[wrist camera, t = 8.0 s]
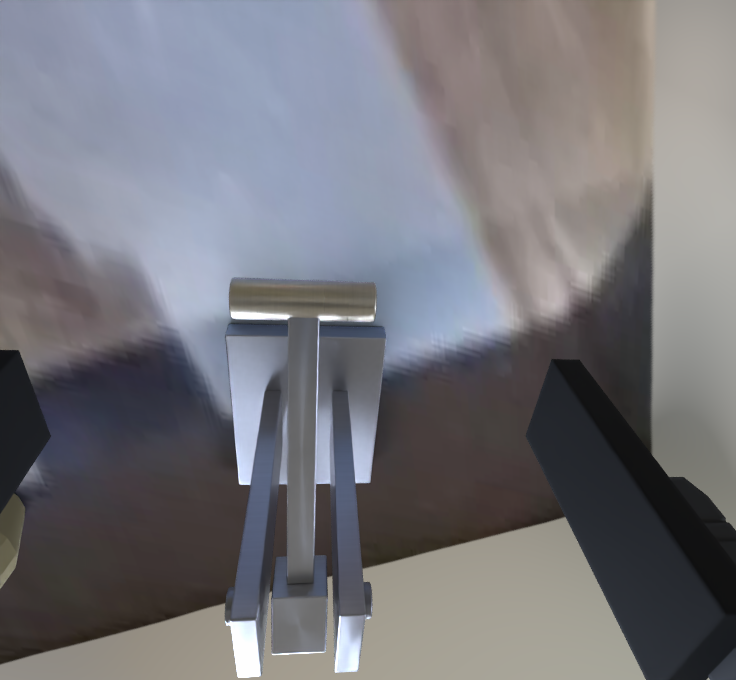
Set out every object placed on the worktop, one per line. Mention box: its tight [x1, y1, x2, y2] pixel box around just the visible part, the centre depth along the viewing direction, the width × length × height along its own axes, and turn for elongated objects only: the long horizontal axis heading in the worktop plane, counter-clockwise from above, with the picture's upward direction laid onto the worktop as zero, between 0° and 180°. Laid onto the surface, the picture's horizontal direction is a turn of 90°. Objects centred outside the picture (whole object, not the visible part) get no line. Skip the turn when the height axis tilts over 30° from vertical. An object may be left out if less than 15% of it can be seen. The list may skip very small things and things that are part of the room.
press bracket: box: [225, 324, 387, 678], centre depth 25 cm, size 12×9×15 cm
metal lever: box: [229, 278, 377, 655], centre depth 19 cm, size 15×5×2 cm, turn 175°
